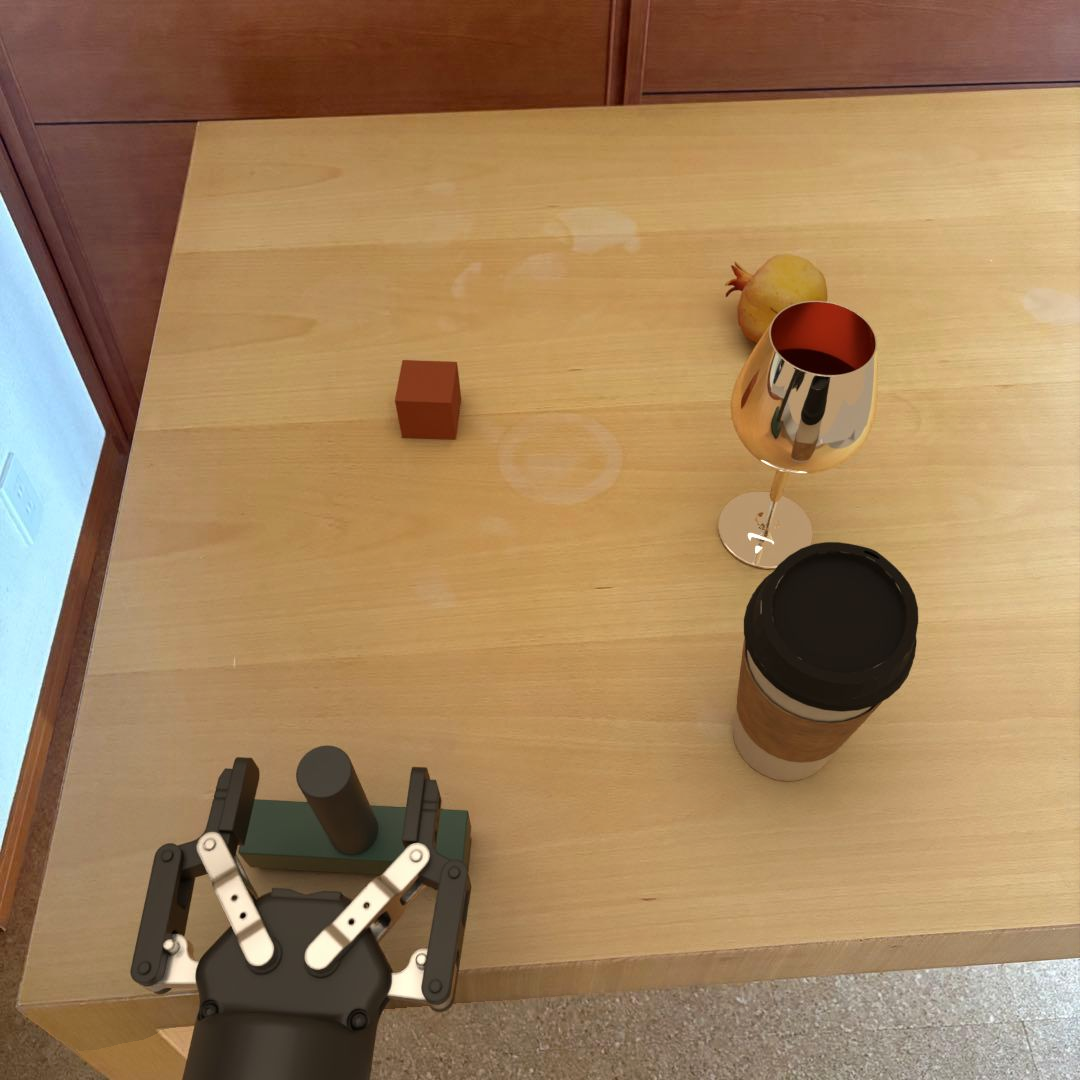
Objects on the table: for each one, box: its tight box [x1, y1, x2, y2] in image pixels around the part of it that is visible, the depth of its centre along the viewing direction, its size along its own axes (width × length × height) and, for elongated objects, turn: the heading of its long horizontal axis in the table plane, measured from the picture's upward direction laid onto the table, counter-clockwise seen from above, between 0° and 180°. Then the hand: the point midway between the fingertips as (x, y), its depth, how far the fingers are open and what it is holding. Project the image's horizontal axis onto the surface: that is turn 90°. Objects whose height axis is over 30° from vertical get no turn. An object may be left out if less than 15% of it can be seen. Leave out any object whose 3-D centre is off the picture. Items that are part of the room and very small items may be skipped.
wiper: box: [237, 745, 472, 876], centre depth 52 cm, size 12×3×12 cm, turn 87°
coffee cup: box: [732, 541, 919, 782], centre depth 54 cm, size 8×8×15 cm
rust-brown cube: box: [394, 359, 462, 440], centre depth 73 cm, size 4×4×4 cm
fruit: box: [724, 253, 828, 344], centre depth 77 cm, size 7×7×10 cm
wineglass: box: [717, 301, 879, 570], centre depth 62 cm, size 8×8×18 cm
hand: (334, 767), depth 49 cm, fingers open, 8 cm apart
